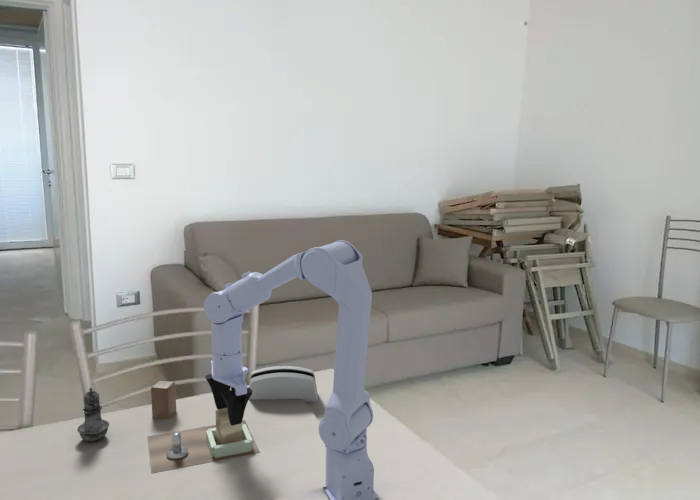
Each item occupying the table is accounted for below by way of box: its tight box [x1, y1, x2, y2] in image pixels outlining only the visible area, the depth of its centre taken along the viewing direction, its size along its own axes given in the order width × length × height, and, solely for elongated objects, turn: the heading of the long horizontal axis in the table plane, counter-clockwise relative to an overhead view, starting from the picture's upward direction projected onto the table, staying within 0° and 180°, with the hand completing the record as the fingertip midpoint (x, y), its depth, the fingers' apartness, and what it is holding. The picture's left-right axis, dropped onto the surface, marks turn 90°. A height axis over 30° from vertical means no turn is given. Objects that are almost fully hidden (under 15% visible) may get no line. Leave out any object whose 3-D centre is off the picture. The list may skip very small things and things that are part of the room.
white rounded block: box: [248, 365, 319, 403], centre depth 133 cm, size 17×5×10 cm, turn 95°
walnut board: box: [147, 419, 261, 474], centre depth 112 cm, size 14×20×1 cm
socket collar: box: [206, 423, 254, 458], centre depth 111 cm, size 8×8×2 cm
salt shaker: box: [76, 386, 110, 442], centre depth 112 cm, size 6×6×12 cm
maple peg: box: [215, 408, 243, 445], centre depth 111 cm, size 4×4×7 cm
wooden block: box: [150, 380, 177, 420], centre depth 123 cm, size 4×4×8 cm
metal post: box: [166, 431, 188, 460], centre depth 107 cm, size 4×4×4 cm
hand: (228, 415), depth 110 cm, fingers open, 7 cm apart
